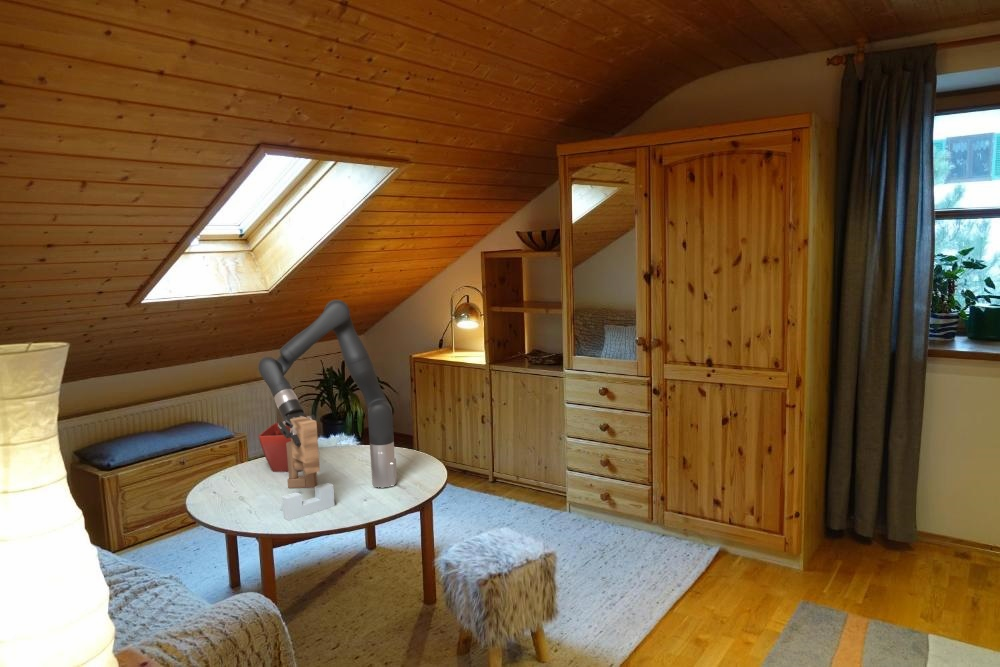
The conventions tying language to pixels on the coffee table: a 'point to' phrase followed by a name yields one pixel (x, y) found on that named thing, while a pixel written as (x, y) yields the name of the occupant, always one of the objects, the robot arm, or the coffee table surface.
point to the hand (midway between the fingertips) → (307, 443)
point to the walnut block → (305, 445)
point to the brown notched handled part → (294, 479)
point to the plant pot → (275, 448)
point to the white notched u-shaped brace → (308, 502)
